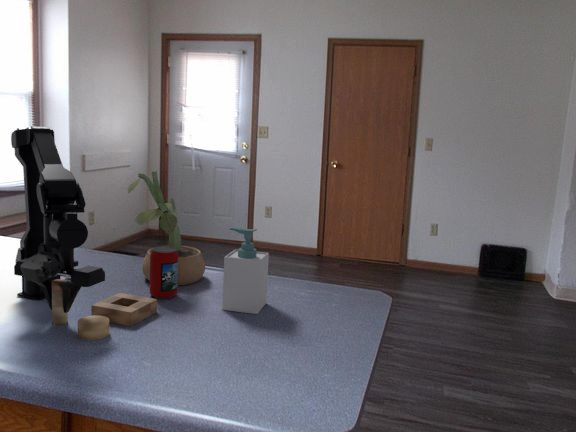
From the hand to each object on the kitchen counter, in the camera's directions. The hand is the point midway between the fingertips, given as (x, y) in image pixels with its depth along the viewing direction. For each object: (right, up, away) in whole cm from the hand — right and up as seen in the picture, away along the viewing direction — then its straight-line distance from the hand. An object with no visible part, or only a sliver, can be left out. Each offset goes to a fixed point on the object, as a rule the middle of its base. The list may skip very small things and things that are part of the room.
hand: (59, 311), depth 117 cm
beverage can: (+17, 0, +22) cm, 28 cm away
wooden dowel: (0, -3, 0) cm, 2 cm away
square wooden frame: (+12, -2, +7) cm, 14 cm away
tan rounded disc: (+9, -4, -5) cm, 11 cm away
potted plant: (+14, +2, +35) cm, 38 cm away
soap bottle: (+37, -2, +17) cm, 41 cm away
